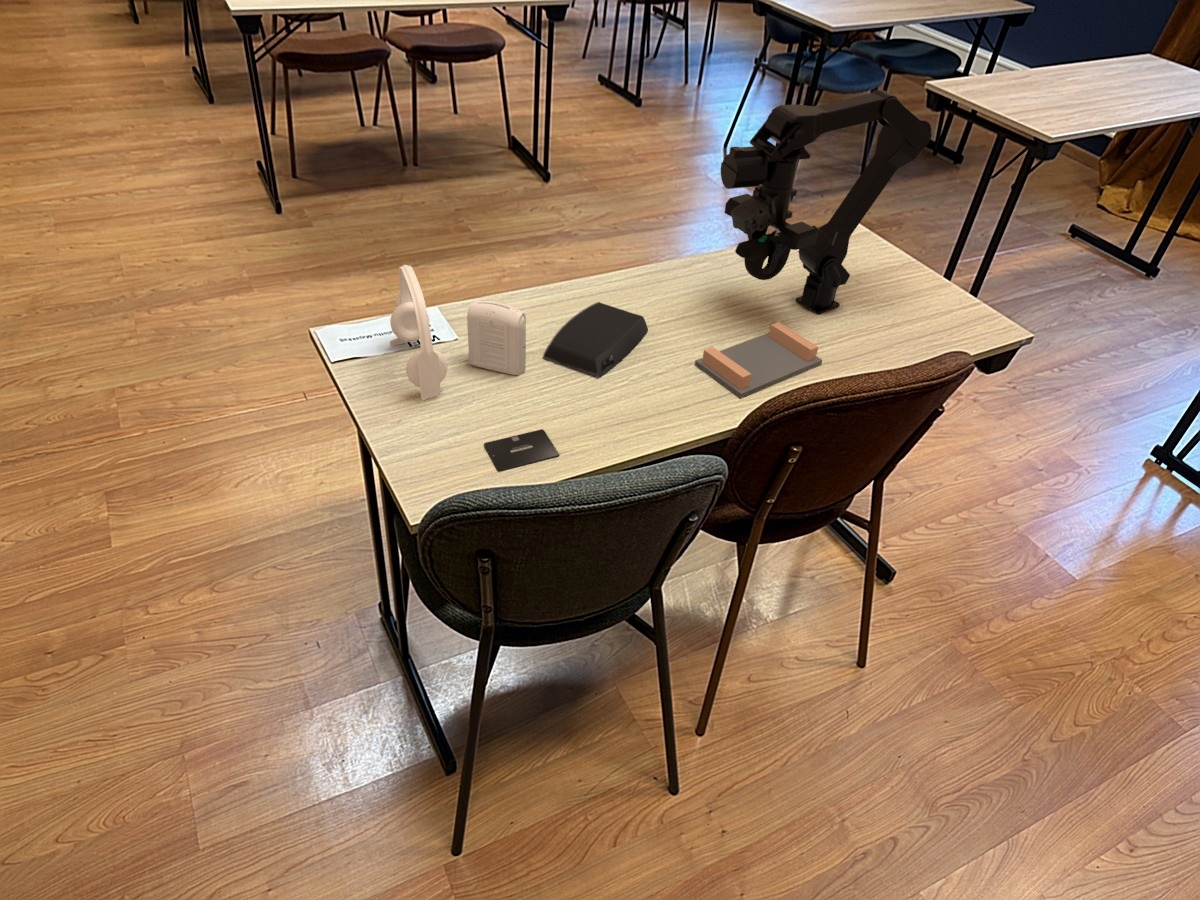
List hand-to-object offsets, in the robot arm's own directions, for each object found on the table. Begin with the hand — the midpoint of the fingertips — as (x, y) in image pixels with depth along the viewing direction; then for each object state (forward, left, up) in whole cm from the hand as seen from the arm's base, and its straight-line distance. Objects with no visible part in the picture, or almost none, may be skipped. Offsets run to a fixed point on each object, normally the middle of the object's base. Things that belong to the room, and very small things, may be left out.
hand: (762, 263), depth 158 cm
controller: (0, +1, -3) cm, 3 cm away
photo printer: (+52, -10, -11) cm, 54 cm away
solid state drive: (+61, +12, -11) cm, 63 cm away
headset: (+64, -16, -11) cm, 67 cm away
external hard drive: (+33, -7, -12) cm, 36 cm away
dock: (+12, +14, -11) cm, 21 cm away
